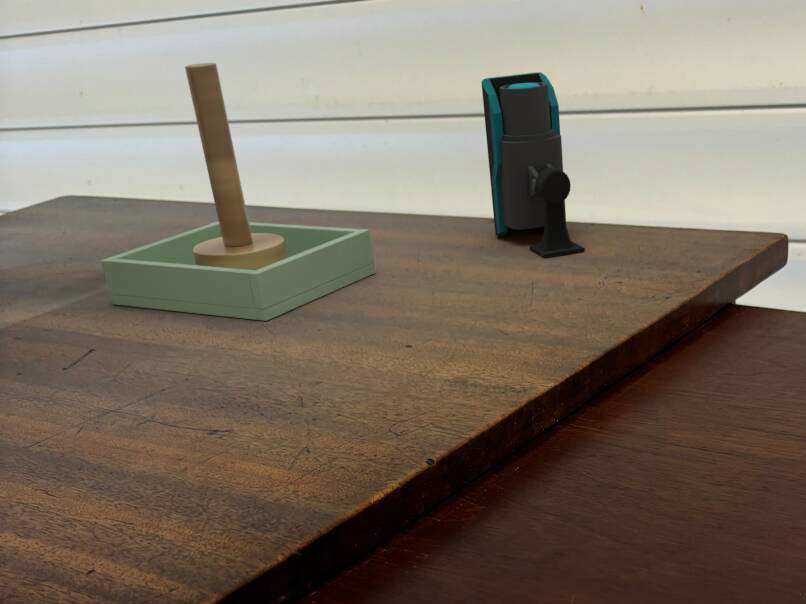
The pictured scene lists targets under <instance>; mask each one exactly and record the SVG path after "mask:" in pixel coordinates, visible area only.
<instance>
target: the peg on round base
mask: <svg viewBox="0 0 806 604" xmlns="http://www.w3.org/2000/svg"><path fill="white" fill-rule="evenodd" d="M184 69H185V74H186V78H187V79H186V80H187V83H188V87H189V91H190V97H191V101H192V107H193V111H194V114H195V115H194V116H195V120H196V125H197V128H198V133H199V138H200V143H201V147H202V151H203V156H204V160H205V164H206V170H207V174H208V179H209V184H210V187H211V193H212V197H213V202H214V206H215V211H216V215H217V221H219V225H220V229H221V234H222V237H219V238H214V239H211V240H207V241H205V242H202V243H200V244H198V245H196V246H195V247H194V248H193V254H194V259H195V263H196V265H198V266H210V267H221V268H233V269H245V270H258V269H260V268H263V267H266V266H268V265H271V264H273V263H276V262H278V261H281V260H284V259H286V258H288V257H287V252H286V246H285V241H284V238H283V237H282V236H280V235H276V234H270V233H251V231H250V226H249V222H250V221H249V215H248V212H247V207H246V203H245V197H244V192H243V188H242V187H243V186H242V183H241V178H240V172H239V167H238V164H237V163H238V162H237V158H236V153H235V149H234V142H233V139H232V133H231V128H230V124H229V118H228V115H227V109H226V104H225V99H224V95H223V90H222V83H221V80H220V75H219V71H218V66H217V63H216V62H204V63H203V62H202V63H201V62H200V63H193V64H187V65H185V66H184Z"/></svg>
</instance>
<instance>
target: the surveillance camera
mask: <svg viewBox="0 0 806 604" xmlns="http://www.w3.org/2000/svg"><path fill="white" fill-rule="evenodd" d="M481 92H482V103H483V104H482V105H483V114H484V115H483V116H484V124H485V136H486V146H487V158H488V169H489V179H490V189H491V190H490V191H491V203H492V212H493V222H494V232H495V233H494V235H495V236H497V237H508V236H509V237H510V236H514V235H515V234H516V235H520V233H522V234H528V233H536V232H540V231H541V232H542V231H543V235H542V241H541V243H539V244H534V245H529V246H528V249H529V250H530V251H531V252H533V253H535V254H537V255H539V256H540V257H541V258H544V259H547V258H551V257H558V256H563V255H571V254H577V253H584V252H585V250H586V249H585V247H583V246H581V245H579V244H578V243H576V242H574V241H572V240H571V237H570V234H569V231H568V227H567V213H566V212H567V211H566V200H567V198H568V196H570V192H571V188H572V187H571V186H572V185H571V180H570V178H569V175H568V174H567V173H565V171H564V162H563V161H564V160H563V143H562V142H563V141H562V135H561V123H560V121H561V120H560V106H559V102H558V98H557V95H556V92H555V89H554V86H553V84H552V83H551V82H550V79H549V78H548V77H547V76H546V75H545V74H544V73H543V72H540V71H537V72H527V73H520V74H511V75H502V76H492V77H486V78H483V79H482V80H481Z"/></svg>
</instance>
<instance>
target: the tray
mask: <svg viewBox="0 0 806 604" xmlns="http://www.w3.org/2000/svg"><path fill="white" fill-rule="evenodd" d="M249 226H250V231H251V233H270V234H276V235H280V236H282V237H283V238H284V241H285V246H286V252H287V257H288V258H286V259H284V260H281V261H278V262H276V263H273V264H271V265H268V266H266V267H263V268H260V269H258V270H245V269H233V268H221V267H210V266H198V265H196V263H195V259H194V254H193V248H194V247H195V246H196V245H198V244H200V243H202V242H205V241H207V240H211V239H214V238H219V237H222V234H221V229H220V225H219V220H217V221H215V222H211V223H208V224H205V225H203V226H200V227H197V228H193V229H191V230H187V231H185V232H181V233H179V234H176V235H173V236H170V237H167V238H164V239H161V240H158V241H154V242H152V243H149V244H146V245H143V246H140V247H136V248H134V249H130V250H128V251H125V252H122V253H119V254H116V255H113V256H109V257H107V258H104V259H101V260H100V263H101V266H102V269H103V274H104V277H105V281H106V285H107V288H108V292H109V294H110V299H111V302H112V303H111V304H112V305H115V306H123V307H124V306H125V307H133V308H143V309H152V310H161V311H171V312H179V313H187V314H188V313H189V314H199V315H209V316H217V317H226V318H235V319H245V320H252V321H253V320H254V321H263V322H268V321H269V320H272V319H274V318H276V317H279V316H281V315H283V314H285V313H288V312H290V311H292V310H294V309H296V308H299V307H301V306H303V305H305V304H308V303H311V302H312V301H315V300H317V299H320V298H322V297H324V296H327V295H329V294H331V293H334V292H335V291H338V290H341V289H342V288H345V287H347V286H350V285H351V284H354V283H356V282H359V281H360V280H362V279H365V278H367V277H370V276H372V275H374V274H376V266H375V260H374V252H373V247H372V239H371V232H370V229H365V228H361V229H360V228H349V227H348V228H347V227H331V226H316V225H301V224H287V223H285V224H283V223H269V222H268V223H267V222H255V221H254V222H252V221H249Z"/></svg>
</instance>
